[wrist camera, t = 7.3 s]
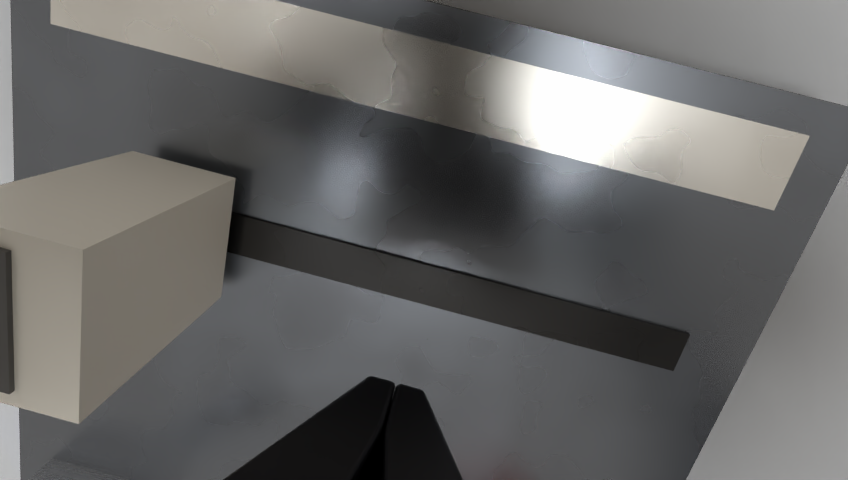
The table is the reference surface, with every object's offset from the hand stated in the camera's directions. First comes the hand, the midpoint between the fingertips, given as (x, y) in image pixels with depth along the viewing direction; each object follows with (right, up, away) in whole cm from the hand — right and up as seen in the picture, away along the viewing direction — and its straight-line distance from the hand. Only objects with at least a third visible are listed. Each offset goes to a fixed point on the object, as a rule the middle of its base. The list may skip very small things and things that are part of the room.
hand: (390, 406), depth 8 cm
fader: (-5, +3, +4) cm, 7 cm away
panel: (-1, -1, +8) cm, 8 cm away
